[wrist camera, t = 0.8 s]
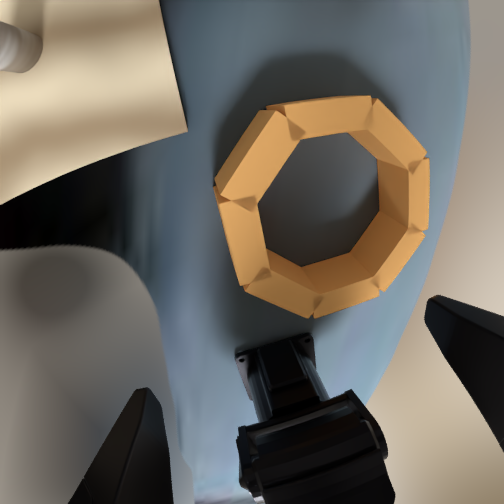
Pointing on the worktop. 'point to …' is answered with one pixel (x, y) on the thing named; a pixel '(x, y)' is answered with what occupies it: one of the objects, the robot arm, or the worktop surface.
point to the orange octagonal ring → (375, 236)
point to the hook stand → (80, 86)
